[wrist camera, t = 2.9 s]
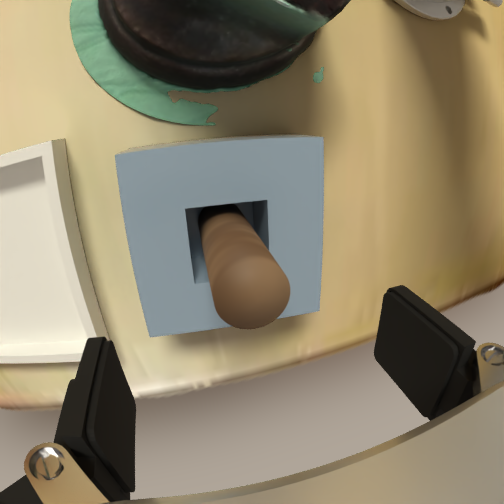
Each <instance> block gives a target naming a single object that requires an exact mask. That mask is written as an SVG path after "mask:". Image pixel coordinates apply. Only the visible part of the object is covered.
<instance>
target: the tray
mask: <svg viewBox="0 0 504 504" xmlns="http://www.w3.org/2000/svg"><path fill="white" fill-rule="evenodd" d="M103 336H104V337H106V339H107V341H109V340H110V339H109V336H108V333H107V330H106V327H105V324H104V321H103V318H102V314H101V311H100V308H99V305H98V301H97V298H96V295H95V291H94V288H93V284H92V280H91V277H90V273H89V269H88V265H87V261H86V257H85V253H84V249H83V245H82V240H81V236H80V231H79V226H78V221H77V216H76V211H75V206H74V200H73V195H72V189H71V182H70V176H69V169H68V161H67V153H66V145H65V139H58V140H51V141H47V142H44V143H40V144H36V145H32V146H29V147H25V148H22V149H18V150H15V151H12V152H8V153H5V154H2V155H0V363H55V362H77V361H81V357H82V354H83V351H84V348H85V344H86V341H87V339H88V338H93V337H103Z"/></svg>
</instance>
